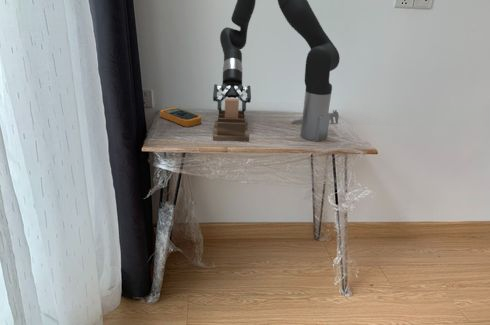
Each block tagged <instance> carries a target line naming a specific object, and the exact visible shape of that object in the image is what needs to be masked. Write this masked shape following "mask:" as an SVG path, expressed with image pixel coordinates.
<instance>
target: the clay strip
mask: <svg viewBox="0 0 490 325" xmlns="http://www.w3.org/2000/svg"><path fill="white" fill-rule="evenodd" d="M239 103H240V100H239V98H225V99H224V110H225V118H237V119H238V111H239V105H240V104H239Z"/></svg>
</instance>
